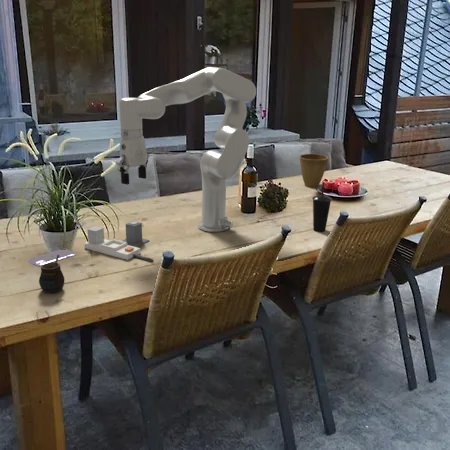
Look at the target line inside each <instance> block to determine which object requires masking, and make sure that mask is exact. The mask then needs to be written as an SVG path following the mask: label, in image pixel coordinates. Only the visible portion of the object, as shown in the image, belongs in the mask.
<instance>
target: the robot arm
mask: <svg viewBox="0 0 450 450" xmlns="http://www.w3.org/2000/svg"><path fill="white" fill-rule="evenodd" d="M211 92H218V93H221V94H222V96H223V99H224V101H225V111H224V114H223V117H222V119H221V121H220V124H219V126H218V128H217V130H216V132H215V135H214V138H213V139H214V144H215V145H216V147H218V148H219V149H222V152H221V151H219V150H215V149H210V150H207V151H205V152H204V153H203V154H202V156H201V158H200V162H199V163H200V165H199V166H200V172H201V180H202V181H201V185H202V187H201V190H202V193H201V196H202V197H201V206H202V207H201V221H200V222H198V224H197V226H198V229H200V230H201V231H204V232H208V233H209V232H211V233H216V232H217V233H218V232H224V231H227V230H228V229H229V228H230V229H231V228H233V225H234V222H233V221H230V220H229V218H228V216H226V206H227V205H226V203H227V196H226V195H227V194H226V193H227V182H226V181H227V180H230V179H232V178H234V176H235V175H236V174H238V173H237V172H238V171H239V169H240V167H241V164H242V162H243V160H244V158H245V156H246V153H247V152H248V148H249V146H250V136H249V135H248V133H247V131H245V130H244V129H243V126H244V124H245V122H246V119H247V113H248V111H247V104H249V103H250V102H252V101H253V100H254V99H255V97H256V95H257V87H256V85H255V84H254V82H253V81H251V80H250V79H248V78H245V77H243V75H239V74H237V73H236V72H232V70H229V69H227V68H224V67H215V66H209V67H205V68H203V69H201V70H199V71H196V72H194V73H192V74H190V75H188V76H185V77H184V78H181V79H179V80H175V81H173V82H170V83H168V84H163V85H161V86H158V87H155V88H153V89H151V90H149V91H146V92H144V93H142V94H140V95H139V96H137V97H122V98H120V100H119V101H118V104H119V120H120V121H119V122H120V123H119V125H120V142H119V159H117V161H116V162H115V167H117V170H118V172H119V173H120V181H121V184H122V185H127V186H128V185H130V173H129V170H130V168H132V169H133V168H136V167H137V175H138V178H139V179H147V166H148V163H149V158H150V154H149V153H147V146H146V141H145V137H144V135H143V119H147V120H158V119H160V118H161V117H163V116H164V114H165V112H166V107H168V106H171V105H183V104H187V103H191V102H193V101H195V100H197V99H199V98H201V97H204V96H205V95H207V94H210V93H211Z"/></svg>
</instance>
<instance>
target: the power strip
mask: <svg viewBox="0 0 450 450" xmlns="http://www.w3.org/2000/svg"><path fill="white" fill-rule="evenodd" d="M104 231H105V229H104V227H100V226H97V225H94V226H92V227H90V228H87V241H85V242H84V249H87V250H90V251H94V252H97V253H99V254H100V253H101V254H104V255H108V256H112V257H116V258H119V259H122V260H126V261H128V260H130V259H132V258H137V259H140V260H144V261H148V262H151V263H152V262H154V261H155V260H154V259H153V258H150V257H148V256H143V255H140V254H141V248H140V247H133V246H129V245H127V242H123V240H119V239H114V238H112V239H106V238H105V232H104Z"/></svg>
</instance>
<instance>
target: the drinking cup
mask: <svg viewBox="0 0 450 450" xmlns="http://www.w3.org/2000/svg"><path fill="white" fill-rule="evenodd" d="M324 188H325V182H322V185H321V194H317V195H314V196H312V219H313V220H312V222H313V223H312V224H313V225H312V226H313V231H314V232H317V233H324V232H326V228H327V223H328V218H329V213H330V206H331V203H332V197H330V196H328V195H325V194H324Z"/></svg>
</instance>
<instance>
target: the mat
mask: <svg viewBox="0 0 450 450" xmlns="http://www.w3.org/2000/svg"><path fill="white" fill-rule="evenodd" d="M122 241H123V242H126V238H125V239H123V240H122ZM148 242H150V240H149V239H146V238H143V237H142V241H140V242H138V243H136V244H133V243H129V242H127V245H129V246H133V247H137V248H139V247H141V246H143V245H144V244H146V243H148Z"/></svg>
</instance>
